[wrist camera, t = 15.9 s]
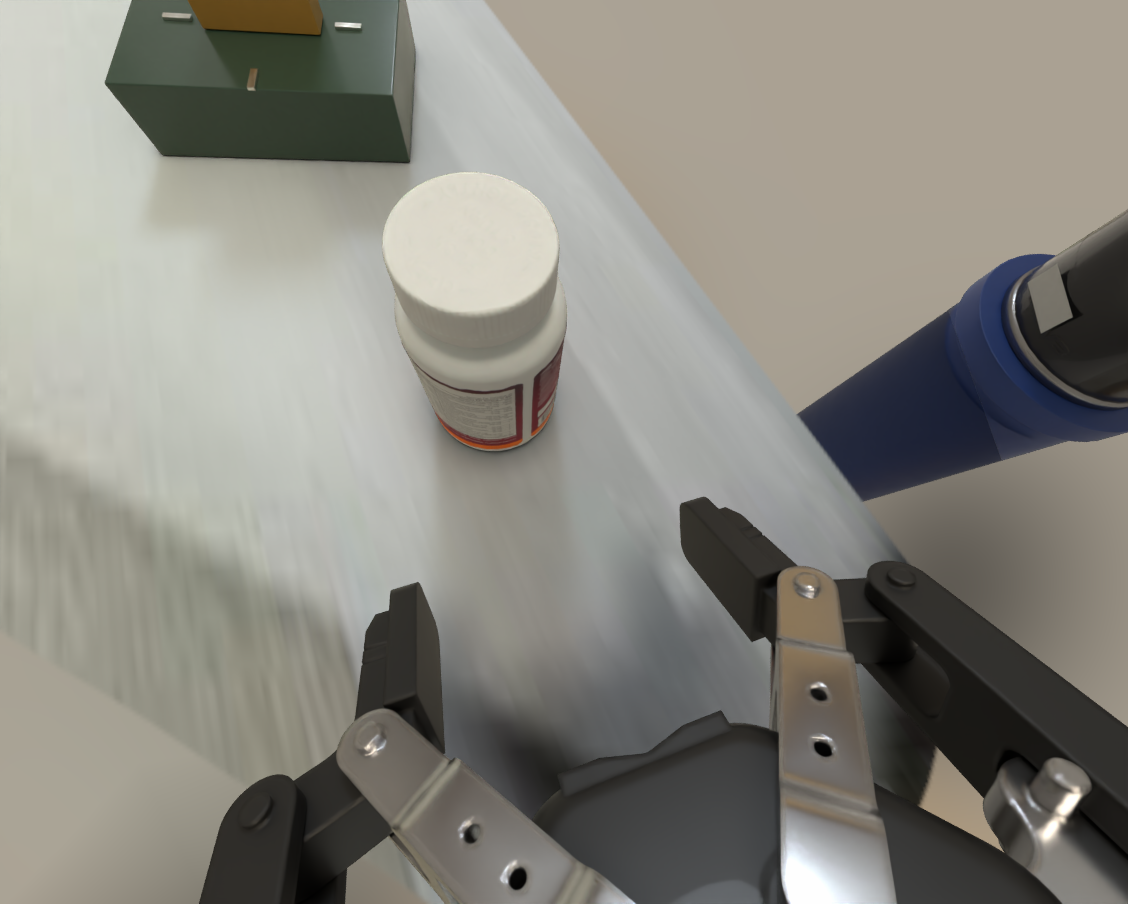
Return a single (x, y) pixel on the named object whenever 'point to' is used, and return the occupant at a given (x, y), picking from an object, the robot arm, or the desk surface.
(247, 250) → the desk surface
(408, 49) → the dark green block
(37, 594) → the desk surface
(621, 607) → the desk surface
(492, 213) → the pill bottle
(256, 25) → the mustard yellow slab
